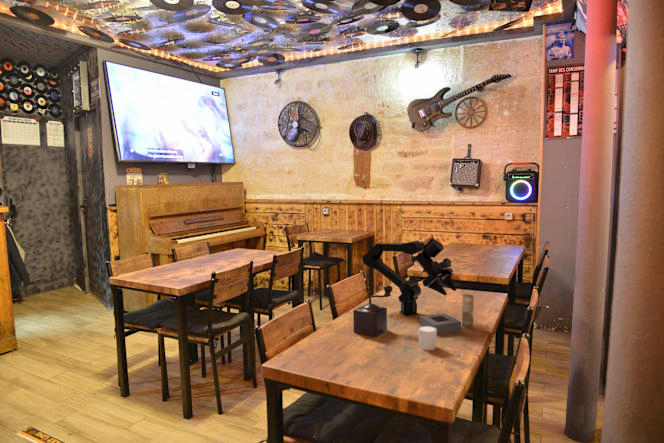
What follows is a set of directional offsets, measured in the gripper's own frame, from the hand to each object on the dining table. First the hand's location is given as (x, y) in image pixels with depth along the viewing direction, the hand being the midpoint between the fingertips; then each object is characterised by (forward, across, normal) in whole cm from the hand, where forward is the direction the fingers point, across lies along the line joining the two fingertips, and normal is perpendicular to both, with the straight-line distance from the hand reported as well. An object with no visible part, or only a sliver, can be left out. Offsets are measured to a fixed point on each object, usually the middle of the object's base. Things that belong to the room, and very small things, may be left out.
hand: (451, 292), depth 180 cm
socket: (+9, -9, +10) cm, 16 cm away
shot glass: (+13, -30, +6) cm, 34 cm away
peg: (+15, 0, +4) cm, 15 cm away
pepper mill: (-5, -27, +24) cm, 37 cm away
